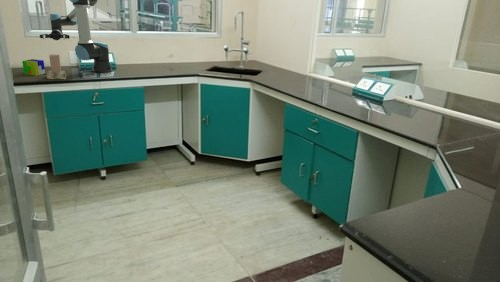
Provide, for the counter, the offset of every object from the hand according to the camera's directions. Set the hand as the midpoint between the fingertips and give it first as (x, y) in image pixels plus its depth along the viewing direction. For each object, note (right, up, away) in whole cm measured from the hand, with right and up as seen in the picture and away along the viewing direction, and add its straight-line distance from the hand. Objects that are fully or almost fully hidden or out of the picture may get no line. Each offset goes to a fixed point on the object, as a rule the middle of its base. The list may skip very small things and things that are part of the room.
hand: (53, 37), depth 280 cm
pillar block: (+3, -26, -3) cm, 26 cm away
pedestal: (+3, -30, -1) cm, 30 cm away
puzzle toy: (-18, -26, +7) cm, 33 cm away
